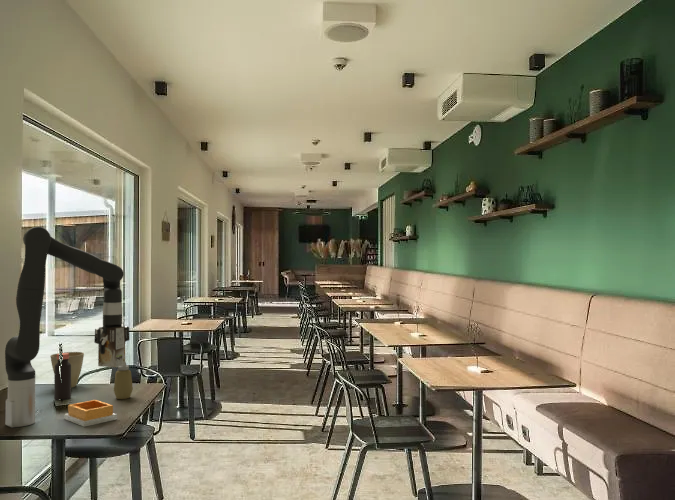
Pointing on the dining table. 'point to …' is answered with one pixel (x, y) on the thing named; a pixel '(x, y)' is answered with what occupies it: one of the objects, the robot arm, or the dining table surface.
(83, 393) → the dining table surface
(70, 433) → the dining table surface
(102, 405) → the orange open box
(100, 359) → the coffee box
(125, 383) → the squeeze bottle
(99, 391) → the dining table surface
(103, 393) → the dining table surface
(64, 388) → the vinegar
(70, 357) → the plant pot
